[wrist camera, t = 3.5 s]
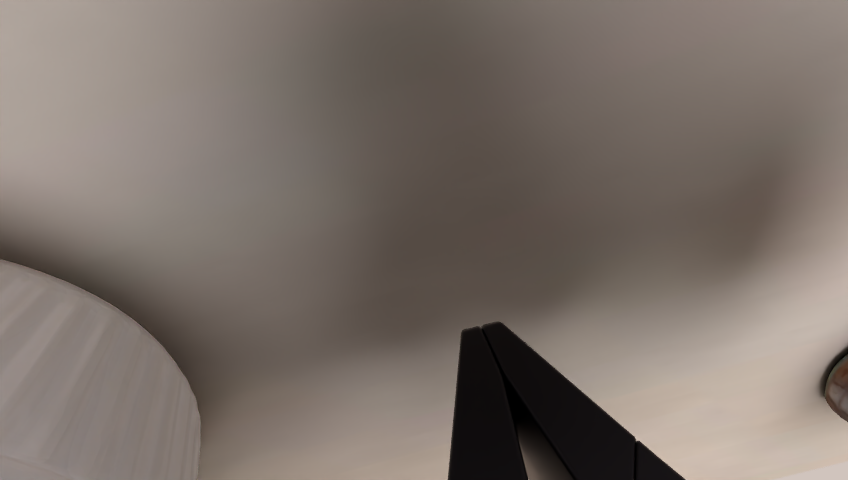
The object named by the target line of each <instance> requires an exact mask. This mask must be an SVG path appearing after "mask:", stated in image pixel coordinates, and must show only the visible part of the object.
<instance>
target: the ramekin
mask: <svg viewBox="0 0 848 480" xmlns="http://www.w3.org/2000/svg"><path fill="white" fill-rule="evenodd" d="M200 431H201V420H200V414H199V411H198V409H197V401H196V397H195V395H194V394H193V392H192V390H191V388H190V385H189V383H188V380H187V379H186V377H185V376H184V375H183V373H182V372H181V370H180V369H179V367H178V365H177V364H176V362H175V361H174V360H173V358H172V357H171V356H170V355H169V353H168V352H167V351H166V349H165V348H164V347H163V346H162V345H161V344H160V343H159V342H158V341H157V340H156V339H155V338H154V337H153V336H152V335H151V334H150V333H149V332H148V331H147V330H145V329H144V328H143V327H142V326H141V325H140V324H138V323H137V322H136V321H135V320H134V319H132V318H131V317H129V316H128V315H126V314H125V313H124V312H122V311H121V310H119V309H118V308H116V307H115V306H113V305H111V304H110V303H108V302H106V301H104V300H103V299H101V298H99V297H97V296H96V295H94V294H92V293H90V292H88V291H86V290H84V289H82V288H79V287H77V286H75V285H73V284H71V283H69V282H66V281H64V280H61V279H59V278H56V277H54V276H51V275H49V274H46V273H43V272H41V271H38V270H35V269H32V268H29V267H26V266H23V265H20V264H16V263H13V262H9V261H6V260H2V259H0V480H197V479H198V469H199V458H200V447H201V435H200Z"/></svg>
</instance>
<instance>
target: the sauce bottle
mask: <svg viewBox="0 0 848 480" xmlns="http://www.w3.org/2000/svg"><path fill="white" fill-rule="evenodd" d="M824 396H825V399H826V401H827V403H828V404H829V406H830V407H831V408H832V410H833V411H835V412H836V413H837V414H838V415H839V416H840V417H841V418H843V419H844V420H846V421H847V422H848V354H847V355H846V356H845V357H844V358H842V359H841V360H840V361H839V362H838V363H837V364H836V365H835V367H834V368H833V370H832V371H831V373H830V375H829V377H828V380H827V384H826V388H825V393H824Z"/></svg>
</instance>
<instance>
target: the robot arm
mask: <svg viewBox="0 0 848 480" xmlns="http://www.w3.org/2000/svg"><path fill="white" fill-rule="evenodd" d="M528 478H529V480H685V479H684V478H683V477H682V476H681V475H679V474H678V473H677V472H676V471H674V470H673V469H672V468H671V467H670V466H668V465H667V464H666V463H665V462H663V461H662V460H661V459H660V458H659V457H657V456H656V455H655V454H654V453H653V452H652V451H651V450H649V449H648V448H647V447H646V446H645V445H644V444H642V443H641V442H640V441H636V439H635V437H634V436H633V435H632V434H631V433H629V432H628V431H627V430H626V429H625V428H624V427H622V426H621V425H620V424H619V423H618V422H617V421H615V420H614V419H613V418H612V417H611V416H610V415H608V414H607V413H606V412H605V411H604V410H603V409H602V408H600V407H599V406H598V405H597V404H596V403H595V402H593V401H592V400H591V399H590V398H589V397H588V396H586V395H585V394H584V393H583V392H582V391H581V390H579V389H578V388H577V387H576V386H575V385H574V384H572V383H571V382H570V381H569V380H568V379H567V378H565V377H564V376H563V375H562V374H561V373H560V372H559V371H557V370H556V369H555V368H554V367H553V366H552V365H550V364H549V363H548V362H547V361H546V360H545V359H543V358H542V357H541V356H540V355H539V354H538V353H536V352H535V351H534V350H533V349H532V348H531V347H529V346H528V345H527V344H526V343H525V342H524V341H522V340H521V339H520V338H519V337H518V336H517V335H516V334H514V333H513V332H512V331H511V330H510V329H509V328H507V327H506V326H505V325H504V324H503V323H501V322H493V323H489V324H485V325H483V326H482V327H481V328H480V327H479V326H476V327H472V328H468V329H464V330H463V331H462V333H461V342H460V353H459V364H458V374H457V385H456V396H455V407H454V418H453V429H452V440H451V451H450V462H449V473H448V480H528Z"/></svg>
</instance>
